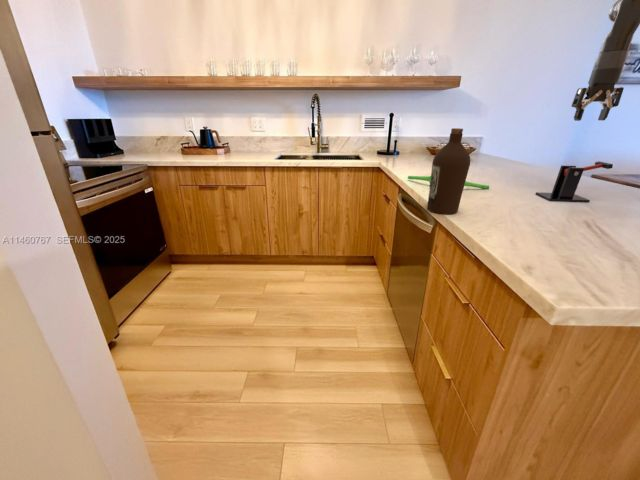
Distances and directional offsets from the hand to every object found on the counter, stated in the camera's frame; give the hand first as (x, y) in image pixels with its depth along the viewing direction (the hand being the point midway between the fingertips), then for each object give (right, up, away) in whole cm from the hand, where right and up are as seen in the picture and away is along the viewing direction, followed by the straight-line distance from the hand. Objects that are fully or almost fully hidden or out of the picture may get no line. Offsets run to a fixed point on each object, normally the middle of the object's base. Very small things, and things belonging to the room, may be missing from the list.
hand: (589, 120), depth 102 cm
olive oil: (-56, -33, -8) cm, 66 cm away
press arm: (-3, -19, -2) cm, 19 cm away
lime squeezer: (-44, -20, +20) cm, 52 cm away
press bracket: (-8, -28, +3) cm, 29 cm away
